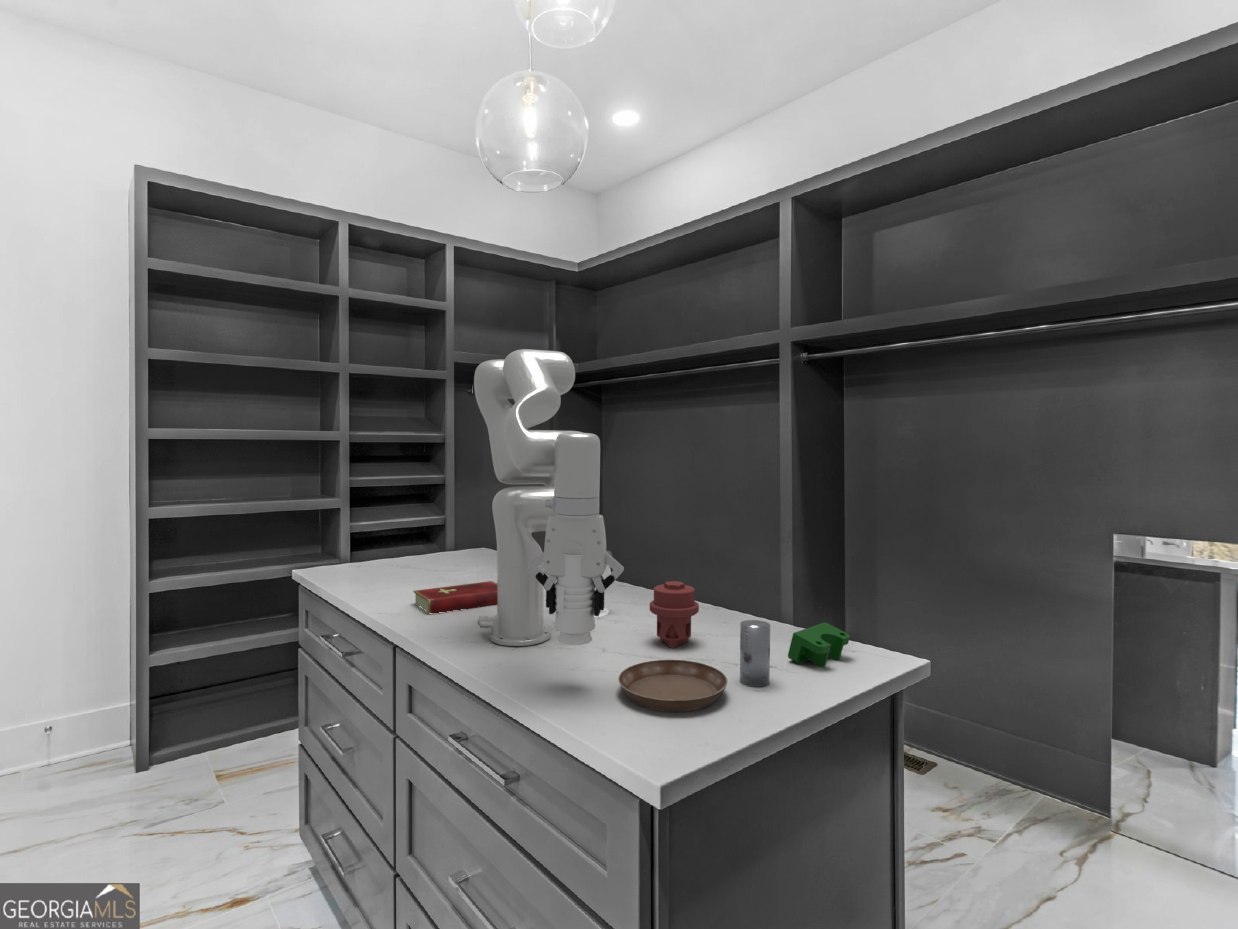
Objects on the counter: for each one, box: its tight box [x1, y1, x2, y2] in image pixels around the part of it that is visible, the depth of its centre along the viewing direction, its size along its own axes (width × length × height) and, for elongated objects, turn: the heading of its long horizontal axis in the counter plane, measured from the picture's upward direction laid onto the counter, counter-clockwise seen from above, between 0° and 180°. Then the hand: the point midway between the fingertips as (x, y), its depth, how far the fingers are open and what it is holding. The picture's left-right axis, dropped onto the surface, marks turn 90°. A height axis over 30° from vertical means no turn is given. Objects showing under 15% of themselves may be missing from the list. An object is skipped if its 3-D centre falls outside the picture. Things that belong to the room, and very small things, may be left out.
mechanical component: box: [649, 580, 700, 648], centre depth 133 cm, size 12×10×10 cm
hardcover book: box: [412, 580, 497, 614], centre depth 164 cm, size 12×21×4 cm, turn 124°
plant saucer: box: [617, 659, 728, 713], centre depth 106 cm, size 18×18×3 cm
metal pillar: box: [739, 619, 771, 688], centre depth 111 cm, size 5×5×10 cm
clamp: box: [787, 622, 851, 668], centre depth 123 cm, size 12×6×9 cm, turn 125°
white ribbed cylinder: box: [554, 554, 596, 646], centre depth 108 cm, size 7×7×15 cm
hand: (575, 612), depth 109 cm, fingers closed on white ribbed cylinder, 6 cm apart
